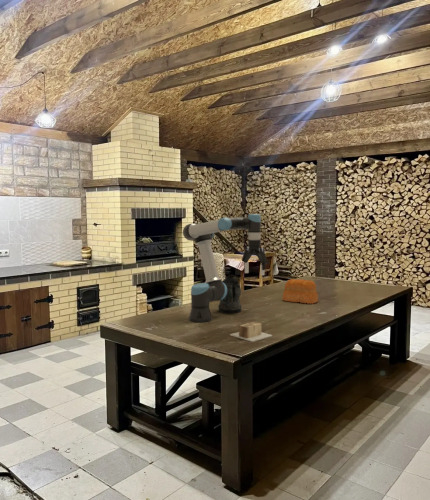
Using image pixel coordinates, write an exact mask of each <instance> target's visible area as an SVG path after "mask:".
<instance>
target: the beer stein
mask: <svg viewBox="0 0 430 500" xmlns="http://www.w3.org/2000/svg"><path fill="white" fill-rule="evenodd" d="M221 281H222V283H224V284H225V285H226V287H227V295H226V297H225V298H224V299H222V300H219V304H218V311H219V313H222V314H238V313H241V311H242V304H241V300H240V297H241V294H242V289H241V288H242V287H241V286H240V284H239V281H238V279H236V278H235V277H234V276H233V275H227V277H225V279H223V280H221Z"/></svg>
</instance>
